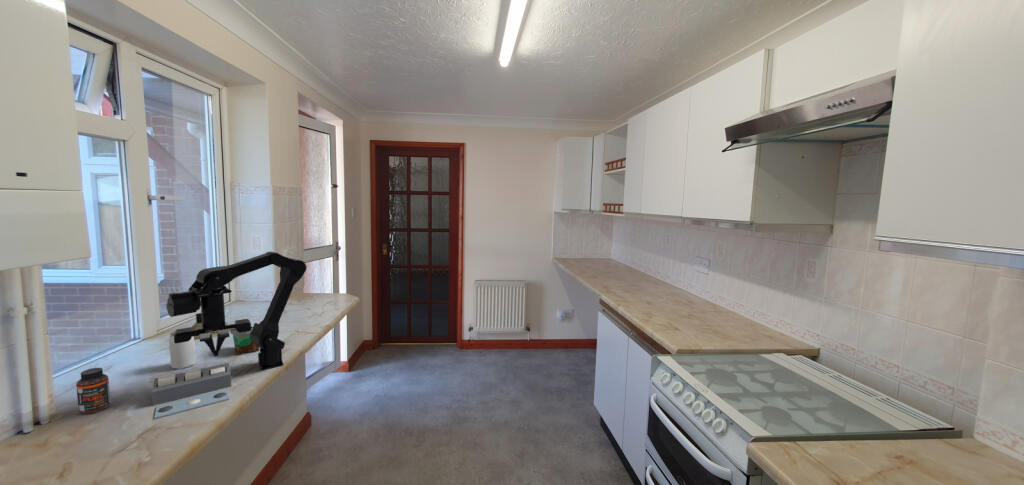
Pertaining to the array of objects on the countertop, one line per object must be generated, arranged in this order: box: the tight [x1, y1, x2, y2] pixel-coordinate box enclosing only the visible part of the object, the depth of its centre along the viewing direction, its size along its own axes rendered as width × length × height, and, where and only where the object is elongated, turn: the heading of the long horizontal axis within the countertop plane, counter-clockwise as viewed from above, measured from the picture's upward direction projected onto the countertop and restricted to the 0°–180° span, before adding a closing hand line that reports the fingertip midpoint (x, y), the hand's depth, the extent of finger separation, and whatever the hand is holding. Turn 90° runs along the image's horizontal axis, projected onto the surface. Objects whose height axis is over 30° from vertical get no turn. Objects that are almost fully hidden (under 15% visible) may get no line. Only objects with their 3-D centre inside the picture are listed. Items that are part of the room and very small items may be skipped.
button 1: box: [157, 373, 176, 387], centre depth 110 cm, size 4×4×2 cm
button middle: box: [184, 367, 202, 381], centre depth 114 cm, size 4×4×2 cm
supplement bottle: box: [75, 367, 112, 415], centre depth 102 cm, size 6×6×11 cm
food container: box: [229, 326, 260, 355], centre depth 141 cm, size 12×6×10 cm, turn 68°
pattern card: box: [153, 388, 230, 420], centre depth 107 cm, size 16×7×1 cm, turn 130°
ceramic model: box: [190, 322, 229, 340], centre depth 158 cm, size 14×11×10 cm
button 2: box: [211, 367, 225, 375], centre depth 118 cm, size 4×4×2 cm
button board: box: [150, 362, 232, 406], centre depth 114 cm, size 18×10×4 cm, turn 130°
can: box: [168, 331, 197, 370], centre depth 129 cm, size 6×6×12 cm
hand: (216, 356), depth 117 cm, fingers closed
